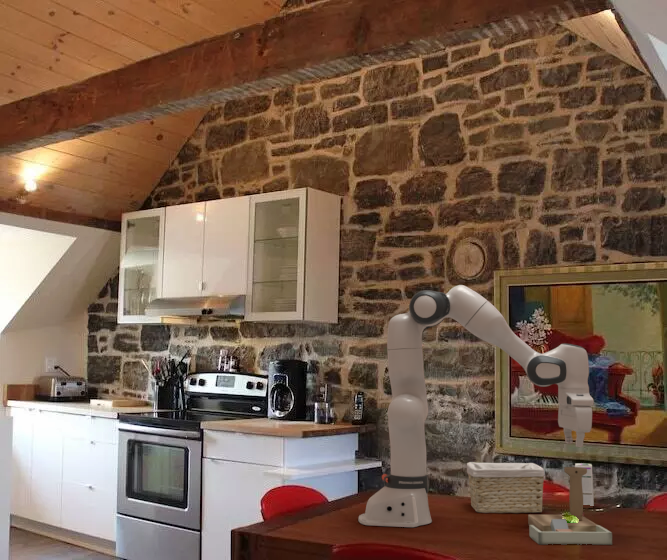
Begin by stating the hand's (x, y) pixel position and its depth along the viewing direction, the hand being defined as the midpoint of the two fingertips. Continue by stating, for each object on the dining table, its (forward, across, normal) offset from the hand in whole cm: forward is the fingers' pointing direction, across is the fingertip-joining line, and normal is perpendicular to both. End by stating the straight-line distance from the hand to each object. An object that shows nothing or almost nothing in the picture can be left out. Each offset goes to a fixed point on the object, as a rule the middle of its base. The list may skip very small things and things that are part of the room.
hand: (574, 445), depth 236 cm
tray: (+25, +13, -6) cm, 29 cm away
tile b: (+23, +9, -8) cm, 26 cm away
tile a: (+22, +15, -8) cm, 27 cm away
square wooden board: (+25, 0, -4) cm, 25 cm away
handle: (+22, 0, 0) cm, 22 cm away
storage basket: (+25, -33, -13) cm, 43 cm away
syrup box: (+25, -37, +15) cm, 47 cm away
